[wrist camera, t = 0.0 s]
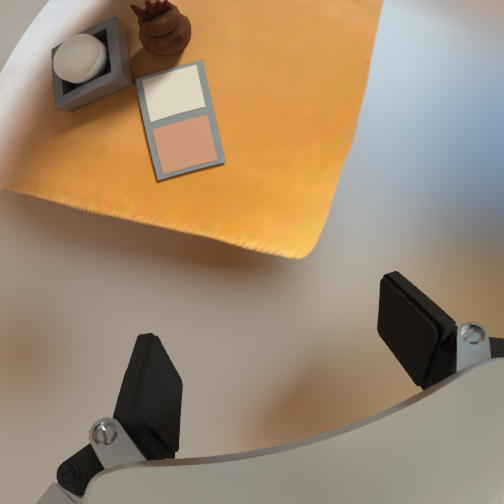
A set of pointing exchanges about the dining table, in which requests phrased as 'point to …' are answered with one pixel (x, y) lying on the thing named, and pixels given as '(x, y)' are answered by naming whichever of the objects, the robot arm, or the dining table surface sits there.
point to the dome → (80, 59)
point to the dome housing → (110, 79)
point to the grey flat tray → (179, 120)
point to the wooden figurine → (162, 28)
